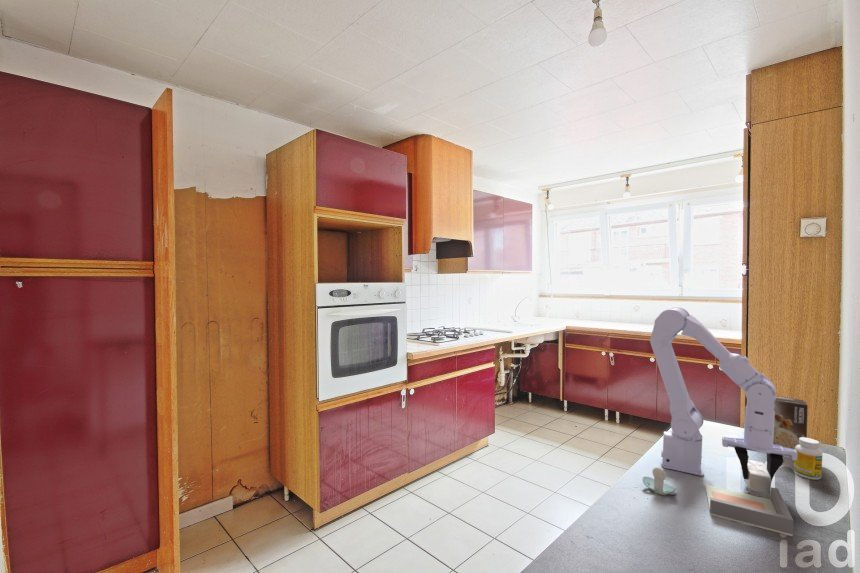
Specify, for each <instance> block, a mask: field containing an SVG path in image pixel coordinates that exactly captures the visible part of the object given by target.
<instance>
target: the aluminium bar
mask: <svg viewBox="0 0 860 573" xmlns="http://www.w3.org/2000/svg"><path fill="white" fill-rule="evenodd" d="M747 472H748V477H747V479H744V478H743V481H744V484H745V485H746V488H747V491H748V494H749V495H753V496H757V497H762V498H766V499H771V487H772V482H771V477H770V475H769V473H768V471H767V465H766V464H765V463H764V462H762V461H756V460H751V459H748V466H747Z"/></svg>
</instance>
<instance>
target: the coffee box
mask: <svg viewBox="0 0 860 573" xmlns="http://www.w3.org/2000/svg"><path fill="white" fill-rule="evenodd" d="M774 404H775V408H774V411H775V420H774V438H773V444H774V445H778V446H782V447H786V448H790V449H795V447H796V446H797V445H799V438H800V437H805V438H808V437H807V436H808V411H809V410H808V409H809V408H808V404H807V402H806V401H804V400H803V399H800V398H799V399H798V398H791V397H785V396H779V395H778V396H777V395H776V400H775V401H774Z"/></svg>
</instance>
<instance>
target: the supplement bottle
mask: <svg viewBox="0 0 860 573" xmlns="http://www.w3.org/2000/svg"><path fill="white" fill-rule="evenodd" d="M820 445H821V444H820V441H819V440H816V439H813V438H810V437H807V438H805V437H800V438H799V445H797V446H796V447H795V450H796V452H797V460H794V465H793V466H794V468H793V472H794V473H795V474H796V475H797V476H800V477H802V478H804V479H809V480H814V481H817V480H820V479H822V468H823V451H822V450H821V449H819V448H820V447H821V446H820Z"/></svg>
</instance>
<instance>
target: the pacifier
mask: <svg viewBox="0 0 860 573" xmlns="http://www.w3.org/2000/svg"><path fill="white" fill-rule="evenodd" d="M651 471H652V476H653V478H652V477H650V476H642V483H643V484H644V485H645V487H647V488H648V489H650V490H651V491H652V492H653V491H654V493H655V492H656V494H658V495H660V496H661V495H662V496H667V495H670V496H673V495H676V494H677V491H676V490H677V488H676V487H675V486H673V485H669V484H666V483H664V481H665V480H666V478H667V475H666V472H665V471H664V470H663V469H662V468H660V467H654V468H652V470H651Z"/></svg>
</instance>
